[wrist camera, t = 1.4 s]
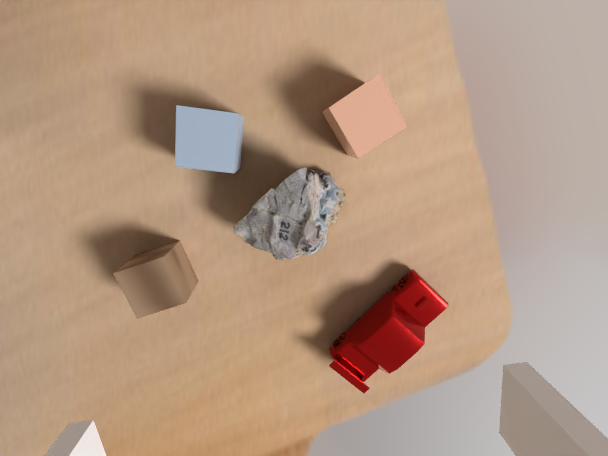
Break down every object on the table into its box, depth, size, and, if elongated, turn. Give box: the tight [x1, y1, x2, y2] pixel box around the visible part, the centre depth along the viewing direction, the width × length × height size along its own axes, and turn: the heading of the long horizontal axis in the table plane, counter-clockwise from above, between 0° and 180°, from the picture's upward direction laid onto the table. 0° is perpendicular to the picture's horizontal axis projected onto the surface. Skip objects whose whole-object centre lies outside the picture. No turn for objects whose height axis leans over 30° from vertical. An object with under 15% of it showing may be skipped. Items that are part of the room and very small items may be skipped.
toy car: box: [329, 270, 448, 393], centre depth 37 cm, size 14×6×5 cm, turn 136°
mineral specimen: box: [233, 167, 346, 260], centre depth 33 cm, size 10×8×10 cm
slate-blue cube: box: [175, 105, 244, 173], centre depth 30 cm, size 5×5×5 cm
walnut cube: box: [113, 241, 198, 319], centre depth 33 cm, size 5×5×5 cm
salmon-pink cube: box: [322, 74, 407, 158], centre depth 31 cm, size 5×5×5 cm
